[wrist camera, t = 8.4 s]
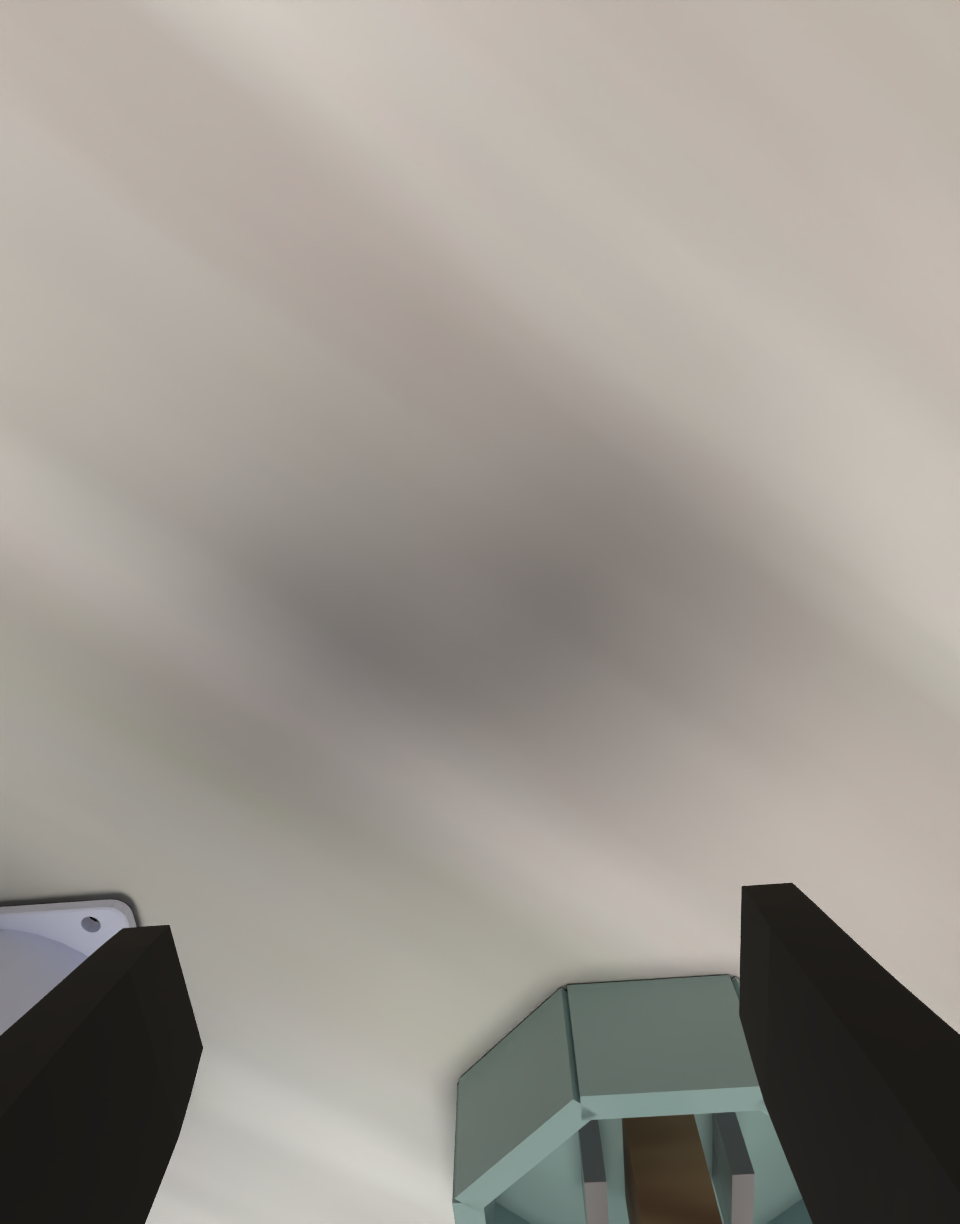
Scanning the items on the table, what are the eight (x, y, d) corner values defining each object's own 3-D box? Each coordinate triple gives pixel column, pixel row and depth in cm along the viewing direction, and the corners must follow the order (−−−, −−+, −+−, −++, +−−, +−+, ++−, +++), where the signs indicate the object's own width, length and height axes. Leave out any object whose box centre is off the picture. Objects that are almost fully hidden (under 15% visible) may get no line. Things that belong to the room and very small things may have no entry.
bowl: (481, 1262, 27) (481, 1394, 23) (445, 992, 23) (437, 1104, 19) (832, 1245, 26) (881, 1376, 23) (854, 966, 22) (918, 1077, 19)
